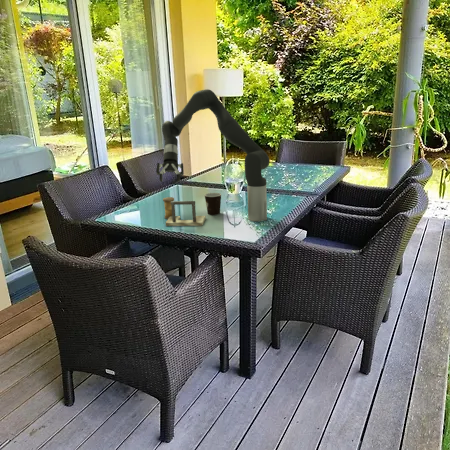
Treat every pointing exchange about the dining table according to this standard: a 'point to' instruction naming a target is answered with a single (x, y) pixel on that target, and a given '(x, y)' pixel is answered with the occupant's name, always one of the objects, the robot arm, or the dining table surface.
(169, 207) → the wooden knob
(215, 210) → the coffee mug
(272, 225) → the dining table surface
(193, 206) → the u-shaped handle base
